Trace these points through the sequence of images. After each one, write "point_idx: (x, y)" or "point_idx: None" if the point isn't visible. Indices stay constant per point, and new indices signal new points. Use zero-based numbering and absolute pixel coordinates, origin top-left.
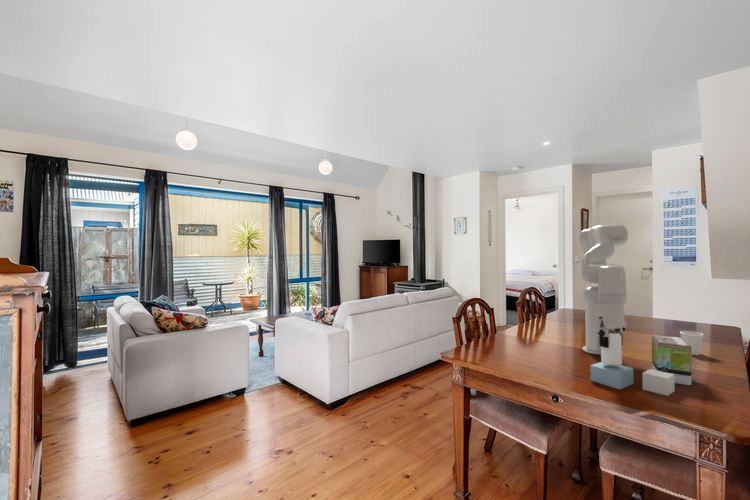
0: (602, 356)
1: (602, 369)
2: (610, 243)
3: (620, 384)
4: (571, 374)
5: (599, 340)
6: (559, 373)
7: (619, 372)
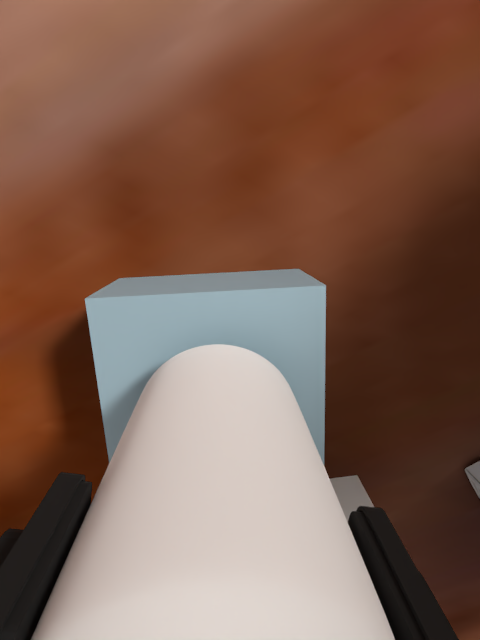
0: (136, 406)
1: (101, 390)
2: None
3: None
4: (108, 129)
5: (20, 535)
6: (38, 59)
7: None
